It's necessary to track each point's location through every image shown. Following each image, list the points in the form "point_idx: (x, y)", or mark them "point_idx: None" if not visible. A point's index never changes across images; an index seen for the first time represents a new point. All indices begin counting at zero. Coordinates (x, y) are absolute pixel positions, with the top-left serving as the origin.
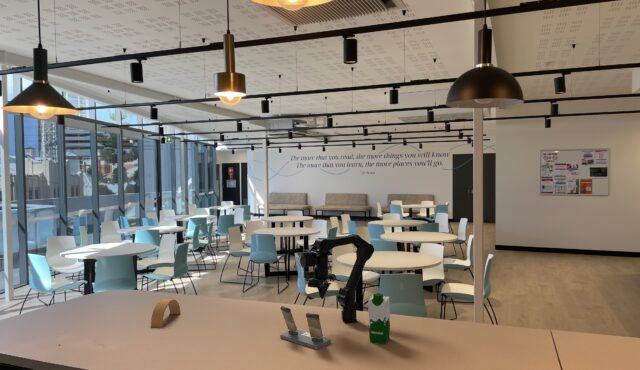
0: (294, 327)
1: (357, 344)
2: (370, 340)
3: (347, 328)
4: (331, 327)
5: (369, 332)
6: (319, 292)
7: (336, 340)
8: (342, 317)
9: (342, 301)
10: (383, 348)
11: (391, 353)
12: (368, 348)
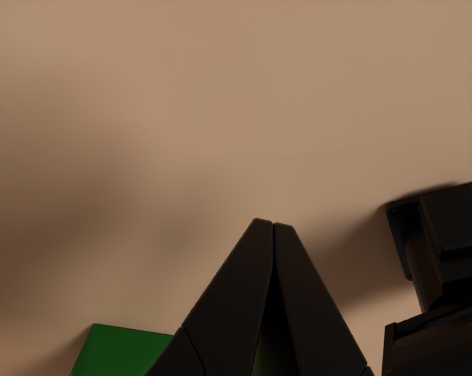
0: None
1: (38, 282)
2: (90, 332)
3: None
4: (271, 123)
5: (82, 364)
6: (180, 331)
7: (32, 189)
8: (427, 213)
9: (423, 365)
10: (52, 356)
11: (21, 371)
12: (20, 317)
